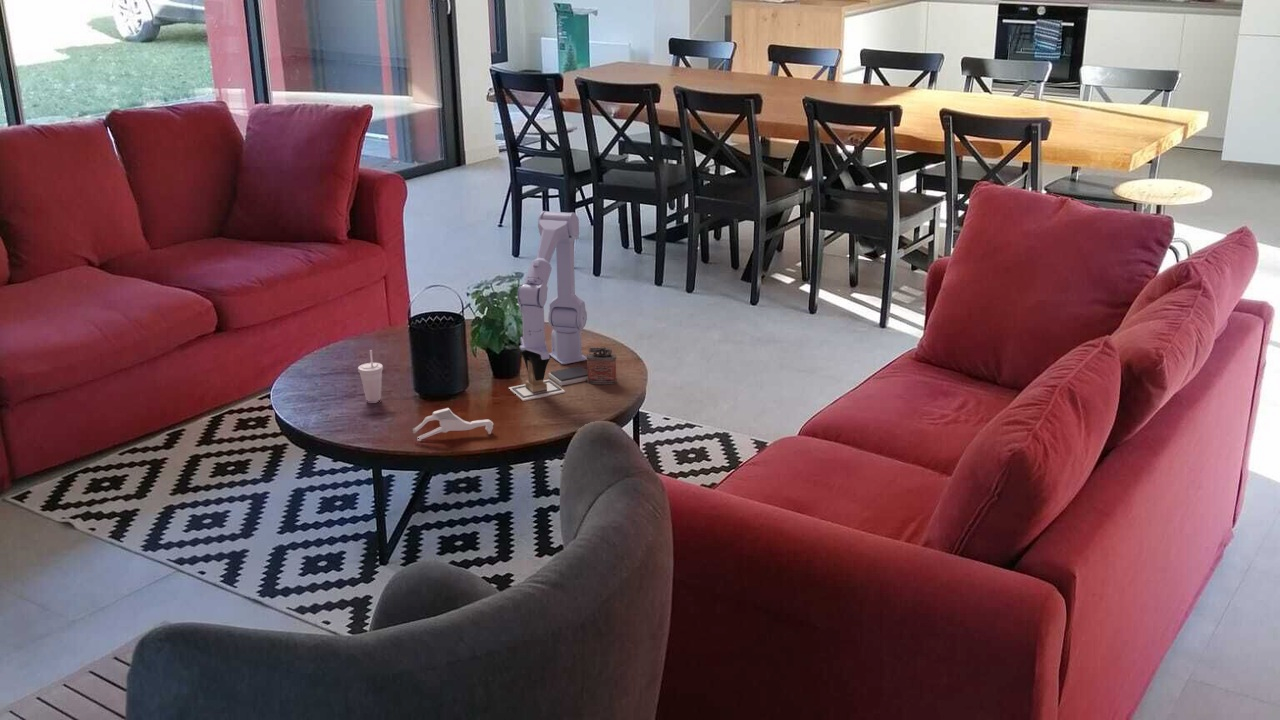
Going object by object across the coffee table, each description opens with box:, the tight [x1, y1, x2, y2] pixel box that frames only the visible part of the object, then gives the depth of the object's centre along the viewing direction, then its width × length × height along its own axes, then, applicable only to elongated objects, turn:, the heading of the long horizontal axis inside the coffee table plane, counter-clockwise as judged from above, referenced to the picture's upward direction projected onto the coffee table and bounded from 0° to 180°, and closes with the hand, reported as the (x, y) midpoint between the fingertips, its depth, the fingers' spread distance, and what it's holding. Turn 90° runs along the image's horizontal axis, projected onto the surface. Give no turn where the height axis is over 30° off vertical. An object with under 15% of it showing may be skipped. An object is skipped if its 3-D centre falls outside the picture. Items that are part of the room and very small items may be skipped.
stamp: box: [524, 360, 547, 394], centre depth 327 cm, size 5×4×8 cm
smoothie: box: [357, 349, 384, 401], centre depth 321 cm, size 6×6×14 cm
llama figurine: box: [411, 407, 494, 442], centre depth 300 cm, size 2×11×18 cm
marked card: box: [508, 378, 566, 402], centre depth 328 cm, size 10×12×1 cm
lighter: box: [586, 345, 618, 385], centre depth 332 cm, size 8×3×10 cm, turn 84°
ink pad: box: [547, 365, 588, 387], centre depth 337 cm, size 8×10×2 cm
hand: (536, 377), depth 327 cm, fingers open, 4 cm apart
